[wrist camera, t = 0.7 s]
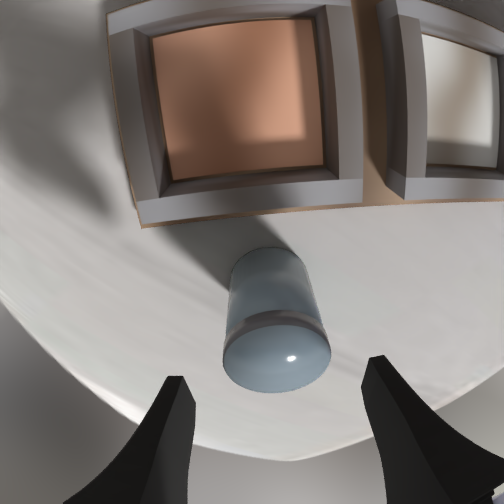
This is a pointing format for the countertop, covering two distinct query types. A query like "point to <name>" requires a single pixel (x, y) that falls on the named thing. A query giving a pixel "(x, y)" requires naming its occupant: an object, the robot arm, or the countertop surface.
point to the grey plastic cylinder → (273, 324)
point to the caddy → (304, 106)
